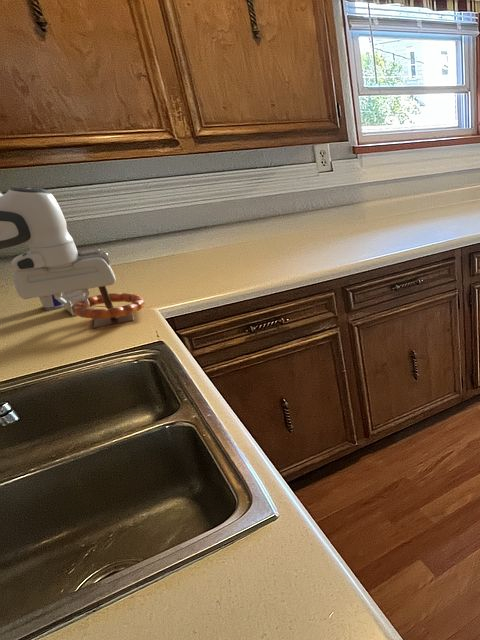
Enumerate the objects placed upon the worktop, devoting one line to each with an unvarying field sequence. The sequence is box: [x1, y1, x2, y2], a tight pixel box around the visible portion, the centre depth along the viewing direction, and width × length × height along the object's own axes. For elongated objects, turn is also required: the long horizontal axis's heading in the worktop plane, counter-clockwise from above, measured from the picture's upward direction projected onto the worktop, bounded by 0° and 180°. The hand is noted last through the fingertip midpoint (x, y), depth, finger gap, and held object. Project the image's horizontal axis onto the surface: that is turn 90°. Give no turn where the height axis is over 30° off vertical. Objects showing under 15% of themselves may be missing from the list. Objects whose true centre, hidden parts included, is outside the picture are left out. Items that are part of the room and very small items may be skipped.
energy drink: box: [38, 295, 65, 311], centre depth 148 cm, size 5×5×12 cm
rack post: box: [93, 286, 135, 330], centre depth 137 cm, size 9×9×10 cm
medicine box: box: [62, 290, 91, 317], centre depth 146 cm, size 8×4×9 cm, turn 47°
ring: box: [72, 292, 146, 320], centre depth 138 cm, size 16×16×2 cm
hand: (77, 307), depth 134 cm, fingers closed on ring, 2 cm apart
